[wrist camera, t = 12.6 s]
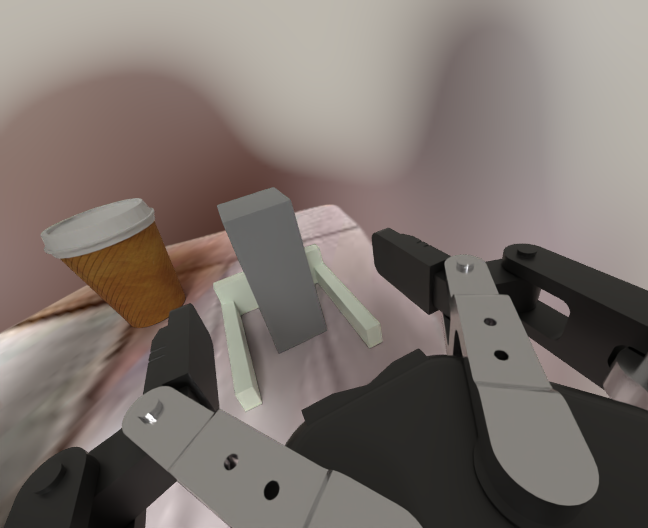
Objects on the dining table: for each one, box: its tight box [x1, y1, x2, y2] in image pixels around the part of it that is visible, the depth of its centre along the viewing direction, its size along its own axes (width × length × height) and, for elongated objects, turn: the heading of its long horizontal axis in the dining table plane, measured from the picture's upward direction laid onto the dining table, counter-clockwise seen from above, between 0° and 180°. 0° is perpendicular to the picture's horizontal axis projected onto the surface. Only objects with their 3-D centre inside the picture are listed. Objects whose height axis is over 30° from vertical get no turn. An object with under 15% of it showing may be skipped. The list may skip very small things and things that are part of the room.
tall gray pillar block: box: [217, 187, 327, 353], centre depth 23 cm, size 5×4×12 cm
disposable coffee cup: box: [41, 198, 185, 328], centre depth 30 cm, size 10×10×12 cm
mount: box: [213, 244, 383, 411], centre depth 25 cm, size 12×11×4 cm
